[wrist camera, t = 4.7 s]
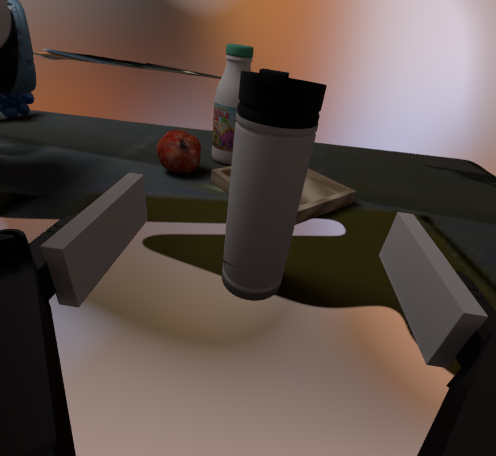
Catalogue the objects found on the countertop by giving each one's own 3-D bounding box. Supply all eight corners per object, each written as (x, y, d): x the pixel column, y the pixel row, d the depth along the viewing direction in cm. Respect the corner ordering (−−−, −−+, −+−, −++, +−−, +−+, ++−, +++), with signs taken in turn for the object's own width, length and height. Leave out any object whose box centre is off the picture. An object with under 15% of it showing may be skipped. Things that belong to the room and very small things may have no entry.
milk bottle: (231, 150, 66) (239, 43, 55) (257, 161, 61) (272, 49, 51) (203, 156, 60) (207, 40, 50) (230, 169, 56) (240, 46, 46)
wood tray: (279, 230, 40) (282, 216, 39) (211, 181, 51) (211, 169, 50) (352, 203, 50) (356, 191, 49) (282, 166, 61) (284, 156, 59)
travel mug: (210, 292, 30) (224, 63, 19) (234, 254, 35) (256, 60, 24) (270, 313, 28) (323, 79, 17) (286, 271, 34) (334, 72, 23)
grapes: (1, 127, 61) (-21, 61, 55) (-23, 121, 63) (-47, 55, 56) (51, 117, 70) (37, 59, 64) (29, 112, 72) (14, 55, 66)
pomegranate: (156, 176, 55) (152, 161, 46) (161, 138, 56) (157, 115, 46) (196, 182, 57) (200, 169, 47) (200, 145, 58) (205, 124, 48)
